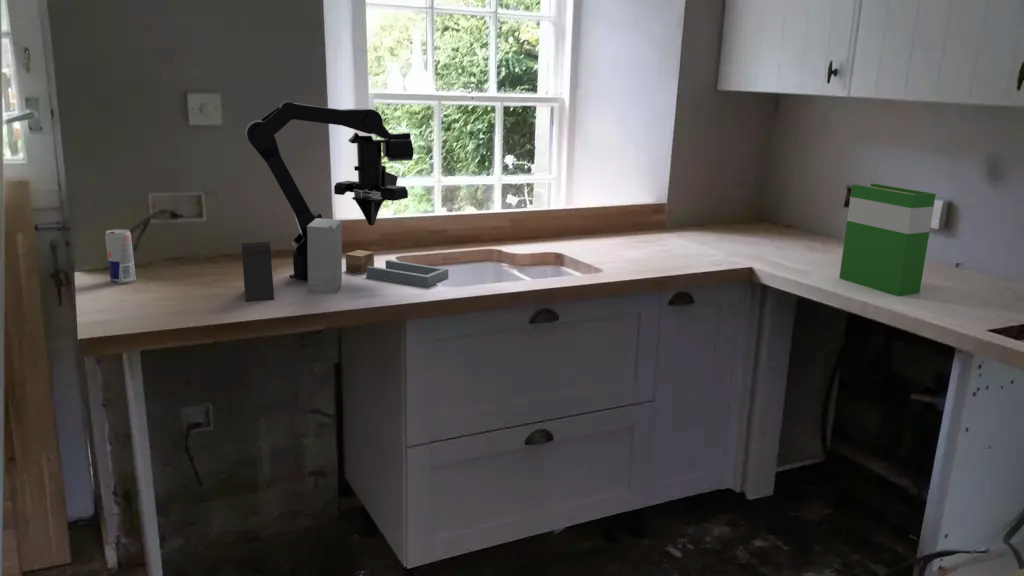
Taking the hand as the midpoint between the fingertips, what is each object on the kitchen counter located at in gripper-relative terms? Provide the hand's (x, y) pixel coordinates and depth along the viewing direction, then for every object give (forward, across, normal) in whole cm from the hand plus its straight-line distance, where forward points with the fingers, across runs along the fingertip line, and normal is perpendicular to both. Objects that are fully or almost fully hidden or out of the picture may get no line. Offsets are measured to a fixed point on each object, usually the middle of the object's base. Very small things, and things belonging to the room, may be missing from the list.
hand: (371, 225), depth 195 cm
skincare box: (+12, -1, +18) cm, 22 cm away
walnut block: (+12, +4, 0) cm, 13 cm away
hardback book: (+12, -112, -58) cm, 126 cm away
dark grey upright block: (+12, +8, +30) cm, 34 cm away
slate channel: (+12, -10, 0) cm, 16 cm away
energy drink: (+12, +43, +39) cm, 59 cm away
